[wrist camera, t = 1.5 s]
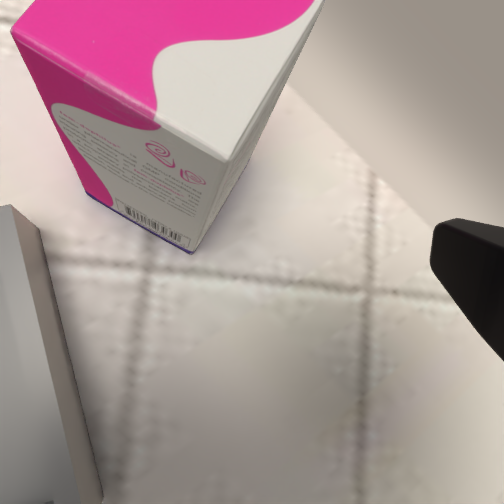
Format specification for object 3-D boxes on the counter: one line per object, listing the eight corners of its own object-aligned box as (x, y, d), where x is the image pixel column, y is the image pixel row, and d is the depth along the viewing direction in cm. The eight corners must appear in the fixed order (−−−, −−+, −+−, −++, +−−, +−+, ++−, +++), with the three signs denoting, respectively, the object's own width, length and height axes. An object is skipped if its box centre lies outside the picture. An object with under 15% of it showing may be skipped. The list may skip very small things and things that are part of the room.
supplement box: (252, 155, 23) (340, -10, 12) (191, 257, 22) (227, 177, 10) (149, 92, 22) (139, -141, 11) (80, 192, 21) (-8, 37, 10)
